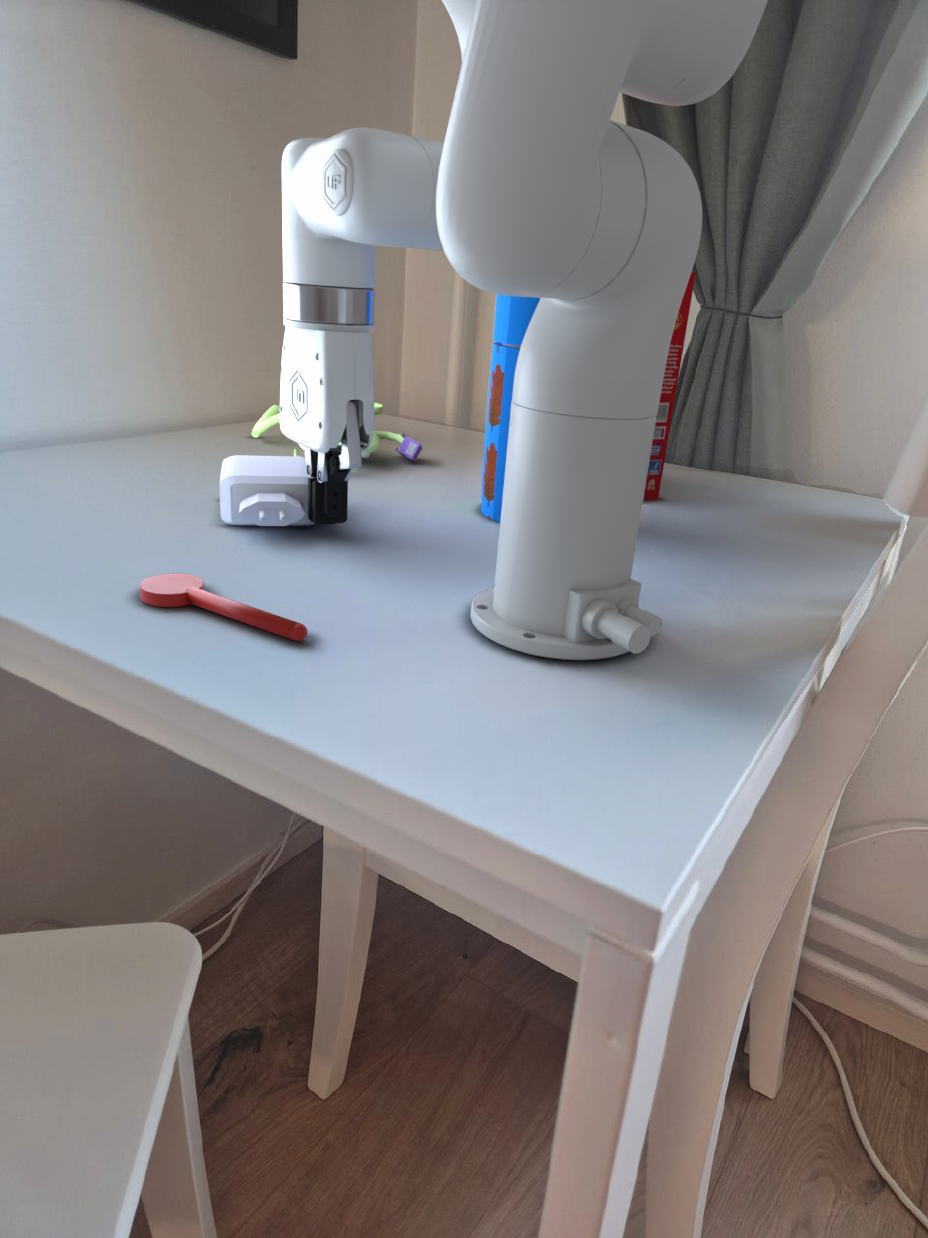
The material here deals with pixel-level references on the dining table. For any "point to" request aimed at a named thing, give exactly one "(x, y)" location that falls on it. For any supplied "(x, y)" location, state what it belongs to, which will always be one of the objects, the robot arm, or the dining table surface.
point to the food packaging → (668, 397)
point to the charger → (264, 491)
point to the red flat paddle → (213, 603)
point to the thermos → (502, 394)
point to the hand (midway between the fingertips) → (327, 521)
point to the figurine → (406, 448)
